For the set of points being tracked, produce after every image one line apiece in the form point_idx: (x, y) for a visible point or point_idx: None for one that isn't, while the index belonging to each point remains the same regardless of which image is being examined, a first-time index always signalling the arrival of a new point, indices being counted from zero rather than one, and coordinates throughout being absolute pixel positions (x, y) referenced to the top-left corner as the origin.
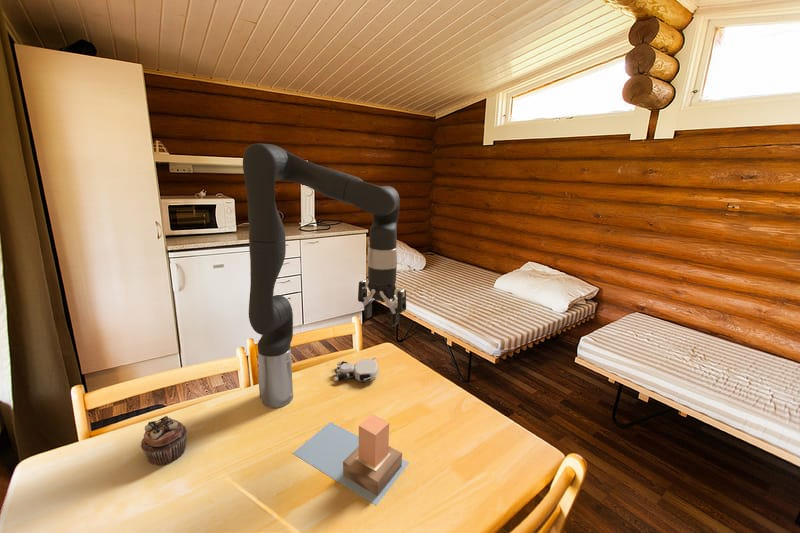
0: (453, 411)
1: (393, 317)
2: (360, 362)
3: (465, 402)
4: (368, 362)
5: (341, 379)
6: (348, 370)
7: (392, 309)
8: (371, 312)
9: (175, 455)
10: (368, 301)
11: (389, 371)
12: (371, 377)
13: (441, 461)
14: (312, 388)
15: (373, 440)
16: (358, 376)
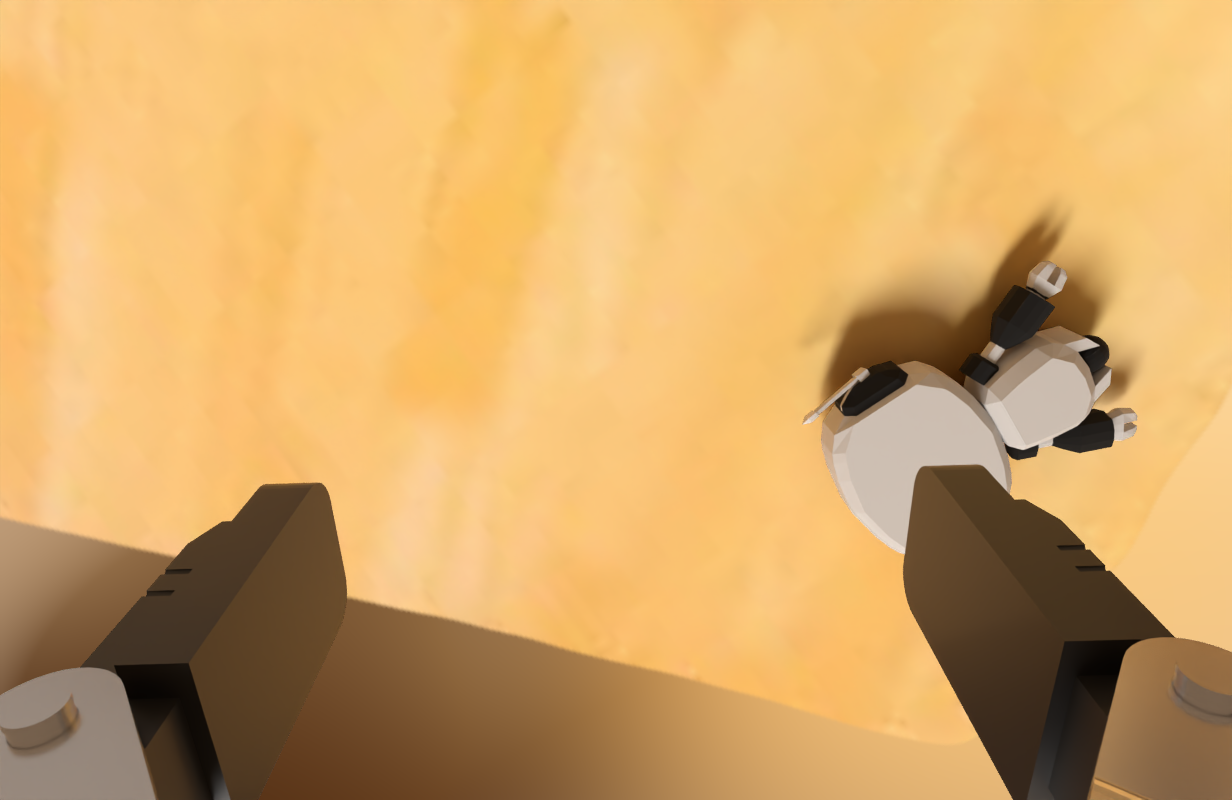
0: (301, 461)
1: (178, 608)
2: None
3: None
4: None
5: (1009, 297)
6: (1010, 375)
7: (39, 769)
8: (933, 638)
9: None
10: (1115, 784)
11: (799, 552)
12: (826, 402)
13: (105, 87)
14: (1146, 132)
15: None
16: (914, 371)
